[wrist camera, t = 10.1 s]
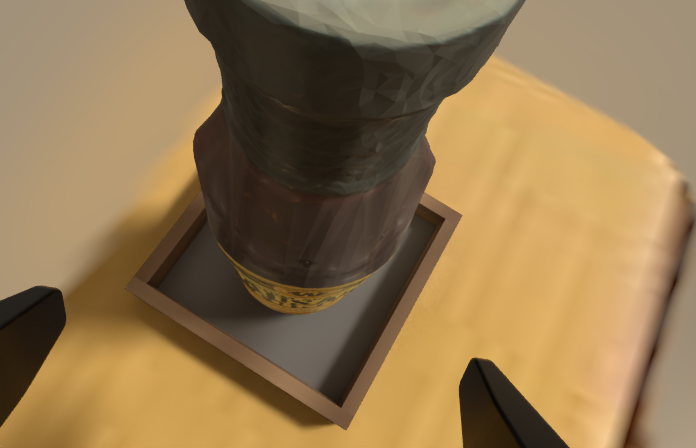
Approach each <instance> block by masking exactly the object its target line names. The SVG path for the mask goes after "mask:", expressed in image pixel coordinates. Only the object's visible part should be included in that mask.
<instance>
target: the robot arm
mask: <svg viewBox="0 0 696 448" xmlns="http://www.w3.org/2000/svg"><path fill="white" fill-rule="evenodd" d="M65 323H66V313H65V307H64V302H63V296H62V292H61V291H60V290H59V289H57V288H53V287H47V286H35V287H33V288H30V289H28V290H25V291H23V292H20V293H18V294H16V295H13V296H11V297H8V298H6V299H4V300H1V301H0V427H1V426H2V425H3V423H4V422H5V420H6V419H7V418H8V416H9V415H10V414H11V412H12V411H13V410H14V408H15V407H16V406H17V404H18V403H19V401H20V400H21V398H22V397H23V396H24V394H25V393H26V391H27V389H28V388H29V386H30V385H31V383H32V381H33V380H34V378H35V376H36V375H37V373H38V371H39V369H40V368H41V366H42V364H43V363H44V361H45V359H46V358H47V356H48V354H49V353H50V351H51V349H52V347H53V346H54V344H55V342H56V341H57V339H58V337H59V336H60V334H61V332H62V331H63V329H64V326H65ZM459 399H460V412H461V425H462V438H463V448H569V447H568V445H567V444H566V443H565V442H564V441H563V440H562V439H561V438H560V437H559V435H558V434H557V433H556V432H555V431H554V430H553V429H552V428H551V426H550V425H549V424H548V423H547V422H546V421H545V420H544V419H543V418H542V416H541V415H540V414H539V413H538V412H537V411H536V410H535V409H534V407H533V406H532V405H531V404H530V403H529V402H528V401H527V400H526V399H525V397H524V396H523V395H522V394H521V393H520V392H519V391H518V390H517V389H516V387H515V386H514V385H513V384H512V383H511V382H510V381H509V380H508V378H507V377H506V376H505V375H504V374H503V373H502V372H501V371H500V370H499V368H498V367H497V366H496V365H495V364H494V363H493V362H492V361H490V360H488V359H482V358H472V359H471V360H470V362H469V364H468V366H467V368H466V370H465V372H464V375H463V377H462V379H461V381H460V385H459Z"/></svg>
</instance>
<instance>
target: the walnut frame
mask: <svg viewBox="0 0 696 448" xmlns="http://www.w3.org/2000/svg"><path fill="white" fill-rule="evenodd" d="M461 217H462V215H461V214H460V213H458V212H456V211H455V210H453V209H451V208H450V207H448V206H446V205H445V204H443V203H441V202H440V201H438V200H436V199H435V198H433V197H431V196H430V195H428V194H426V193H425V192H424V193H423V195H422V198H421V200H420V202H419V204H418V207H417V209H416V211H415V213H414V216H413V218H412V220H411V222H410V224H409V227H408V229H407V231H406V233H405V236H404V238H403V240H402V242H401V245H400V247H399V248H398V250H397V251H396V252H395V254H394V255H393V256H392V258H391V259H390V260H389V261H388V262H387V263H386V264H384V265H383V266H382V267H381V268H380V269H378V270H377V271H376V272H375V273H373V274H372V275H371V276H370V277H368V278H367V279H366V280H365V281H364V282H362V283H361V284H360V285H358V286H357V287H356V288H354V290H353V291H351V292H349V293H348V294H347V295H346V296H344V297H343V298H342V299H340V300H339V301H338V302H336V303H335V304H334V305H332V306H330V307H329V308H327V309H325V310H322V311H319V312H316V313H313V314H304V315H293V314H286V313H281V312H278V311H275V310H273V309H271V308H269V307H267V306H265V305H263V304H262V303H261V302H259V301H258V300H257V299H256V298H254V297H253V296H252V295H251V294H250V293H249V291H248V290H247V288H246V286H245V285H244V283H243V282H242V281H241V279H240V278H239V276H238V275H237V273H236V271H235V270H234V268H233V266H232V265H231V264H230V263H229V261H228V259H227V257H226V256H225V255H224V253H223V251H222V249H221V248H220V246H219V244H218V242H217V240H216V238H215V237H214V235H213V233H212V230H211V228H210V225H209V222H208V216H207V212H206V207H205V203H204V198H203V193H202V190H201V191H200V193H199V194H198V195H197V197H196V198H195V199H194V200H193V202H192V203H191V204H190V206H189V207H188V208H187V209H186V211H185V212H184V213H183V215H182V216H181V217H180V218H179V220H178V221H177V222H176V224H175V225H174V226H173V227H172V229H171V230H170V231H169V232H168V234H167V235H166V236H165V238H164V239H163V240H162V241H161V243H160V244H159V245H158V247H157V248H156V249H155V250H154V252H153V253H152V254H151V256H150V257H149V258H148V259H147V261H146V262H145V263H144V265H143V266H142V267H141V268H140V270H139V271H138V272H137V274H136V275H135V276H134V277H133V279H132V280H131V281H130V283H129V284H128V285H127V286H126V288H125V289H126V290H127V291H129V292H131V293H132V294H134V295H135V296H137V297H138V298H140V299H142V300H143V301H145V302H146V303H148V304H149V305H151V306H152V307H154V308H156V309H157V310H159V311H160V312H162V313H163V314H165V315H167V316H168V317H170V318H171V319H173V320H174V321H176V322H177V323H179V324H181V325H182V326H184V327H185V328H187V329H188V330H190V331H191V332H193V333H195V334H196V335H198V336H199V337H201V338H202V339H204V340H206V341H207V342H209V343H210V344H212V345H213V346H215V347H216V348H218V349H220V350H221V351H223V352H224V353H226V354H227V355H229V356H231V357H232V358H234V359H235V360H237V361H238V362H240V363H241V364H243V365H245V366H246V367H248V368H249V369H251V370H252V371H254V372H255V373H257V374H259V375H260V376H262V377H263V378H265V379H266V380H268V381H270V382H271V383H273V384H274V385H276V386H277V387H279V388H280V389H282V390H284V391H285V392H287V393H288V394H290V395H291V396H293V397H295V398H296V399H298V400H299V401H301V402H302V403H304V404H305V405H307V406H309V407H310V408H312V409H313V410H315V411H316V412H318V413H319V414H321V415H323V416H324V417H326V418H327V419H329V420H330V421H332V422H334V423H335V424H337V425H338V426H340V427H341V428H343V429H344V430H347V428H348V427H349V425H350V423H351V421H352V419H353V417H354V415H355V414H356V412H357V410H358V408H359V406H360V404H361V402H362V401H363V399H364V397H365V395H366V393H367V391H368V389H369V388H370V386H371V384H372V382H373V380H374V378H375V377H376V375H377V373H378V371H379V369H380V367H381V365H382V364H383V362H384V360H385V358H386V356H387V354H388V352H389V351H390V349H391V347H392V345H393V343H394V341H395V339H396V338H397V336H398V334H399V332H400V330H401V328H402V326H403V325H404V323H405V321H406V319H407V317H408V315H409V314H410V312H411V310H412V308H413V306H414V304H415V302H416V301H417V299H418V297H419V295H420V293H421V291H422V289H423V288H424V286H425V284H426V282H427V280H428V278H429V276H430V275H431V273H432V271H433V269H434V267H435V265H436V263H437V262H438V260H439V258H440V256H441V254H442V252H443V251H444V249H445V247H446V245H447V243H448V241H449V239H450V238H451V236H452V234H453V232H454V230H455V228H456V226H457V225H458V223H459V221H460V219H461Z"/></svg>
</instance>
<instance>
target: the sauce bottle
mask: <svg viewBox="0 0 696 448" xmlns="http://www.w3.org/2000/svg"><path fill="white" fill-rule="evenodd" d="M184 1H185V4H186V7H187V9H188V11H189V13H190V15H191V17H192V19H193V21H194V22H195V24H196V26H197V28H198V30H199V32H200V33H201V34H202V35H204V36H205V37H206V38H207V39H208V40H209V41H210V42H211V44H212V46H213V48H214V50H215V55H216V59H217V62H218V65H219V68H220V71H221V76H222V86H223V88H222V99H221V102H220V104H219V106H218V107H217V108H216V109H215V111H214V112H213V113H212V114H211V116H210V117H209V118H208V119H207V120H206V121H205V122H204V123H203V124H202V125H201V126H200V127H199V128H198V129H197V130H196V133H195V137H194V140H193V152H194V159H195V163H196V167H197V171H198V176H199V180H200V184H201V189H202V193H203V198H204V203H205V207H206V212H207V216H208V222H209V225H210V228H211V230H212V233H213V235H214V237H215V238H216V240H217V242H218V244H219V246H220V248H221V249H222V251H223V253H224V255H225V256H226V257H227V259H228V261H229V263H230V264H231V265H232V266H233V268H234V270H235V271H236V273H237V275H238V276H239V278H240V279H241V281H242V282H243V283H244V285H245V286H246V288H247V290H248V291H249V293H250V294H251V295H252V296H253V297H254V298H256V299H257V300H258V301H259V302H261V303H262V304H263V305H265V306H267V307H269V308H271V309H273V310H275V311H278V312H281V313H286V314H293V315H304V314H313V313H316V312H319V311H322V310H325V309H327V308H329V307H330V306H332V305H334V304H335V303H336V302H338V301H339V300H340V299H342V298H343V297H344V296H346V295H347V294H348V293H349V292H351V291H353V290H354V288H356V287H357V286H358V285H360V284H361V283H362V282H364V281H365V280H366V279H367V278H368V277H370V276H371V275H372V274H373V273H375V272H376V271H377V270H378V269H380V268H381V267H382V266H383V265H384V264H386V263H387V262H388V261H389V260H390V259H391V258H392V256H393V255H394V254H395V252H396V251H397V250H398V248H399V247H400V245H401V242H402V240H403V238H404V236H405V233H406V231H407V229H408V227H409V224H410V222H411V220H412V218H413V216H414V213H415V211H416V209H417V207H418V204H419V202H420V200H421V198H422V195H423V193H424V191H425V189H426V187H427V184H428V182H429V180H430V178H431V175H432V173H433V169H434V165H435V162H436V161H435V157H434V155H433V153H432V152H431V150H430V146H429V143H428V141H427V138H426V136H425V134H426V131H427V127H428V123H429V121H430V119H431V118H432V116H433V115H434V114H435V113H436V111H437V108H438V106H439V105H440V103H441V102H442V101H443V100H444V98H446V97H448V96H451V95H453V94H455V93H457V92H458V91H460V90H461V89H462V88H463V87H465V86H466V85H467V84H468V83H469V82H471V81H472V80H473V78H474V77H475V76H476V74H477V73H478V71H479V70H480V69H481V67H483V66H484V64H485V63H486V62H487V60H488V59H489V58H490V56H491V55H492V53H493V52H494V50H495V49H496V47H497V46H498V45H499V43H500V41H501V39H502V37H503V35H504V33H505V32H506V30H507V28H508V26H509V25H510V23H511V22H512V20H513V19H514V17H515V16H516V14H517V13H518V11H519V10H520V8H521V7H522V5H523V4H524V2H525V0H184Z"/></svg>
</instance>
